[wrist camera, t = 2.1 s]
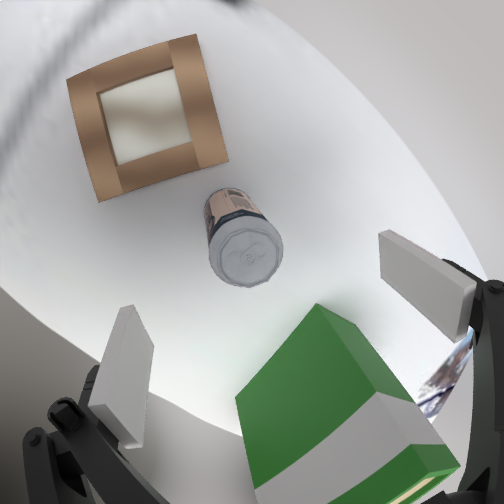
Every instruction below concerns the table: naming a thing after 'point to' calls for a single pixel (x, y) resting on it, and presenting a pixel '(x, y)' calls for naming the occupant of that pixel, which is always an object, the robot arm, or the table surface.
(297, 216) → the table surface
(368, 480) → the hardback book
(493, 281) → the robot arm
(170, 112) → the picture frame
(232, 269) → the beer can
